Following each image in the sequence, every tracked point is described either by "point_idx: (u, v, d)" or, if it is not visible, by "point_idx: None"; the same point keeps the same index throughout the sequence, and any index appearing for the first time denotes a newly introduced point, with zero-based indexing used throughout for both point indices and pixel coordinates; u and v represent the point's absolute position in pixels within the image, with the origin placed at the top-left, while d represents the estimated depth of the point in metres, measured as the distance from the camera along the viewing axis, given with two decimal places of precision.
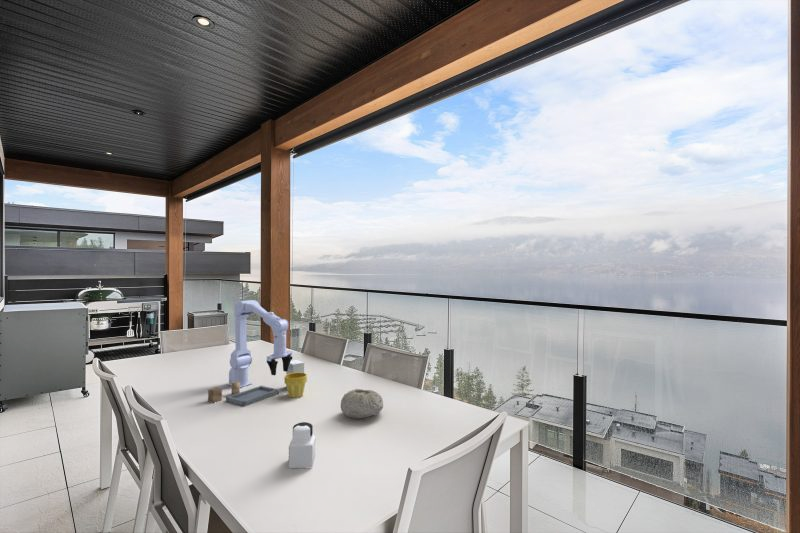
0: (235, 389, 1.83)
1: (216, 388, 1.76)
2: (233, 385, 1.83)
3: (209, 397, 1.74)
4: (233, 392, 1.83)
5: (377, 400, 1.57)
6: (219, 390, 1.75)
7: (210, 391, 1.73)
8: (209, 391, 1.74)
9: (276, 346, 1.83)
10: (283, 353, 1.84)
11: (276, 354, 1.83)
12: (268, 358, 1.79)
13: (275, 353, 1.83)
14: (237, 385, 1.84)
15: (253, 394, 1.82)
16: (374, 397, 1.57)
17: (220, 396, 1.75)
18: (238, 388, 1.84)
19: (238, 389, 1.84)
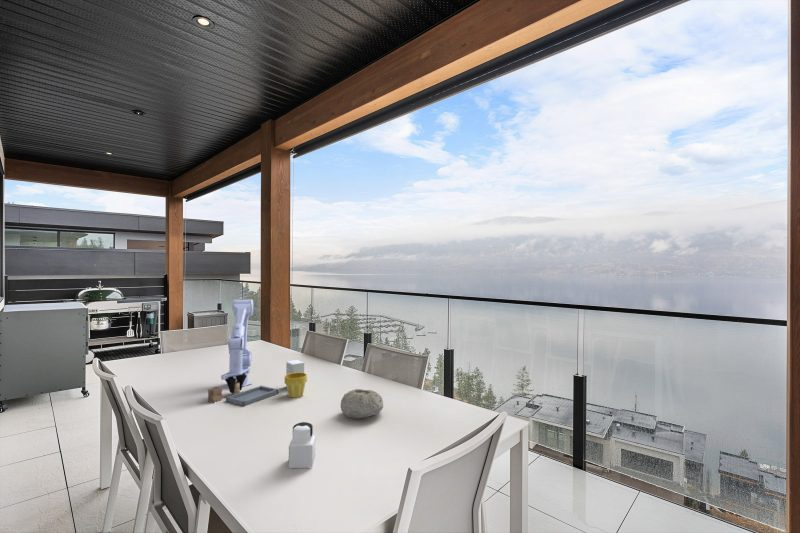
0: (235, 389, 1.83)
1: (216, 388, 1.76)
2: None
3: (209, 397, 1.74)
4: None
5: (377, 400, 1.57)
6: (219, 390, 1.75)
7: (210, 391, 1.73)
8: (209, 391, 1.74)
9: (231, 364, 1.82)
10: (239, 371, 1.83)
11: (231, 372, 1.82)
12: (222, 377, 1.78)
13: (230, 371, 1.82)
14: (237, 385, 1.84)
15: (253, 394, 1.82)
16: (374, 397, 1.57)
17: (220, 396, 1.75)
18: (238, 388, 1.84)
19: (238, 389, 1.84)
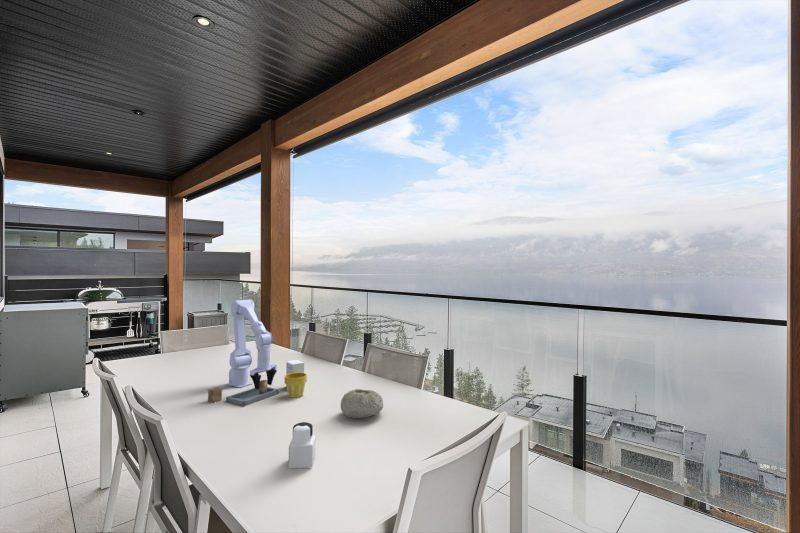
0: (264, 387, 1.84)
1: (216, 388, 1.76)
2: (261, 383, 1.84)
3: (209, 397, 1.74)
4: (261, 390, 1.84)
5: (377, 400, 1.57)
6: (219, 390, 1.75)
7: (210, 391, 1.73)
8: (209, 391, 1.74)
9: (260, 360, 1.83)
10: (267, 367, 1.84)
11: (260, 368, 1.83)
12: (251, 372, 1.79)
13: (259, 367, 1.83)
14: (265, 383, 1.85)
15: (253, 394, 1.82)
16: (374, 397, 1.57)
17: (220, 396, 1.75)
18: (266, 386, 1.85)
19: (266, 387, 1.85)
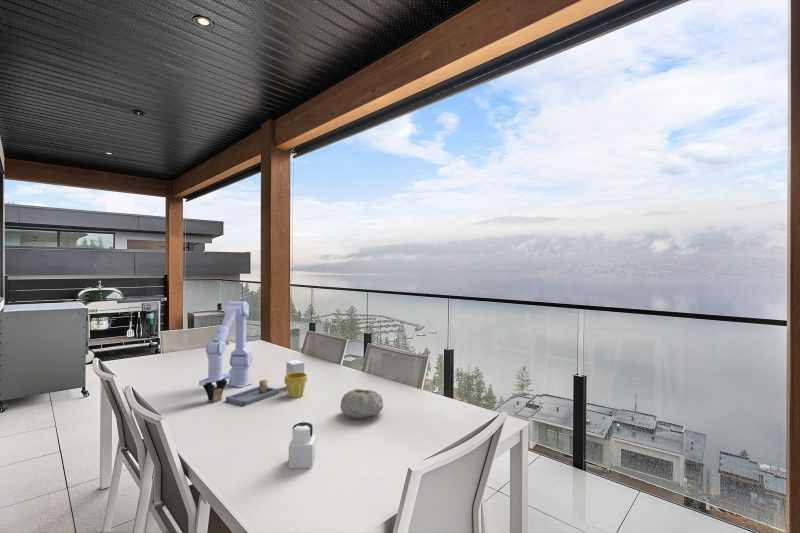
0: (264, 387, 1.84)
1: (216, 388, 1.76)
2: (261, 383, 1.84)
3: None
4: (261, 390, 1.84)
5: (377, 400, 1.57)
6: (219, 390, 1.75)
7: None
8: None
9: (210, 369, 1.72)
10: (218, 377, 1.73)
11: (210, 378, 1.72)
12: (200, 383, 1.69)
13: (209, 377, 1.73)
14: (265, 383, 1.85)
15: (253, 394, 1.82)
16: (374, 397, 1.57)
17: (220, 396, 1.75)
18: (266, 386, 1.85)
19: (266, 387, 1.85)
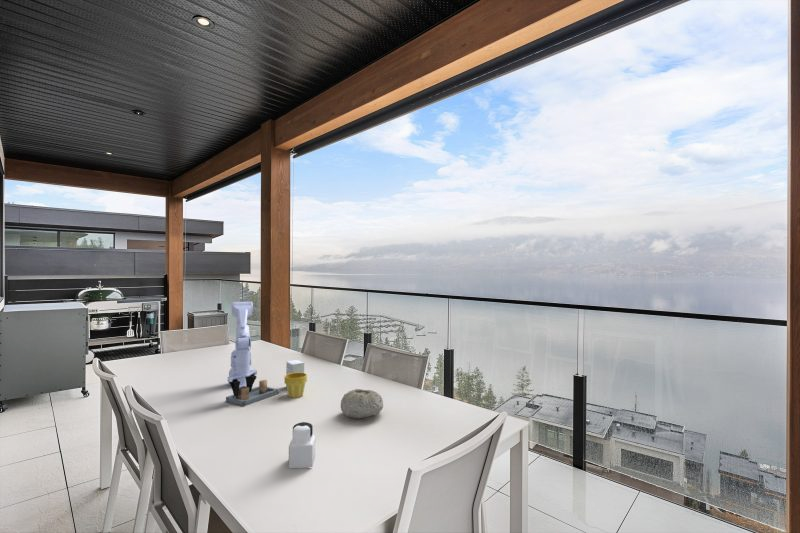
0: (263, 387, 1.84)
1: (243, 387, 1.76)
2: (261, 383, 1.84)
3: (237, 396, 1.74)
4: (261, 390, 1.84)
5: (377, 400, 1.57)
6: (246, 389, 1.75)
7: None
8: None
9: (238, 365, 1.72)
10: (246, 373, 1.73)
11: (238, 374, 1.72)
12: (229, 378, 1.69)
13: (237, 373, 1.73)
14: (265, 383, 1.84)
15: (253, 394, 1.82)
16: (374, 397, 1.57)
17: (247, 395, 1.75)
18: (266, 386, 1.85)
19: (266, 387, 1.85)
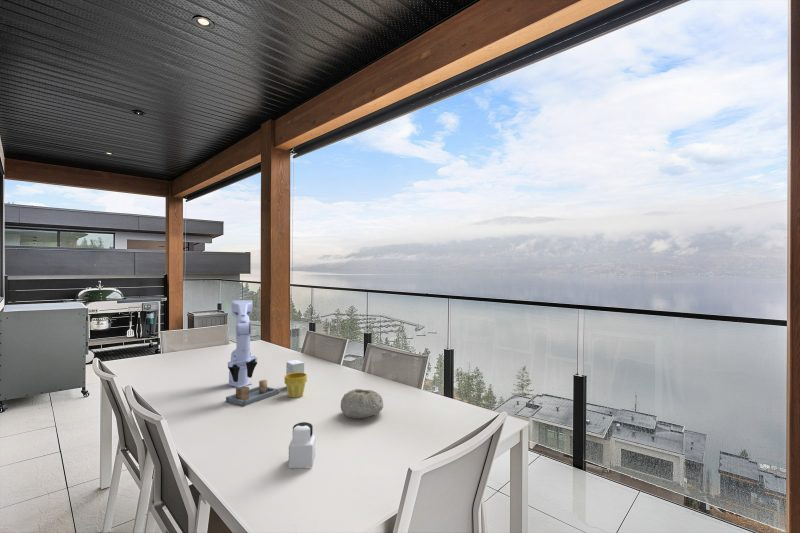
0: (263, 387, 1.84)
1: (243, 387, 1.76)
2: (261, 383, 1.84)
3: (237, 396, 1.74)
4: (261, 390, 1.84)
5: (377, 400, 1.57)
6: (246, 389, 1.75)
7: (238, 390, 1.74)
8: (237, 390, 1.74)
9: (238, 351, 1.72)
10: (246, 358, 1.73)
11: (238, 359, 1.72)
12: (229, 364, 1.69)
13: (237, 358, 1.73)
14: (264, 383, 1.84)
15: (253, 394, 1.82)
16: (374, 397, 1.57)
17: (247, 395, 1.75)
18: (265, 386, 1.85)
19: (265, 387, 1.85)
